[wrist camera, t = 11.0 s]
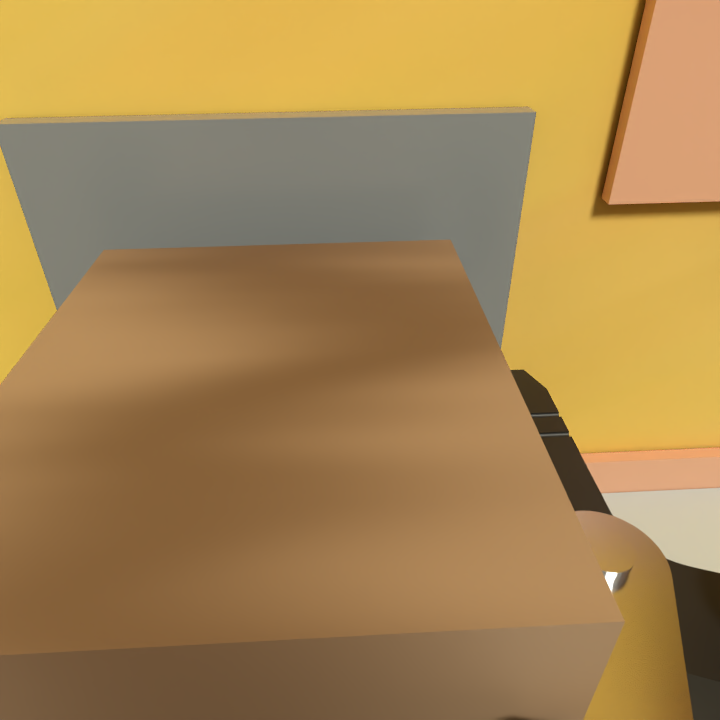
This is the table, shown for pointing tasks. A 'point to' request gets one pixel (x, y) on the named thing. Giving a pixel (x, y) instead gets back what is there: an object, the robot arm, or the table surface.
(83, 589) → the walnut block
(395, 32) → the table surface
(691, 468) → the code tile
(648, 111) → the code tile
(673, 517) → the white block
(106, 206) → the slate coaster
